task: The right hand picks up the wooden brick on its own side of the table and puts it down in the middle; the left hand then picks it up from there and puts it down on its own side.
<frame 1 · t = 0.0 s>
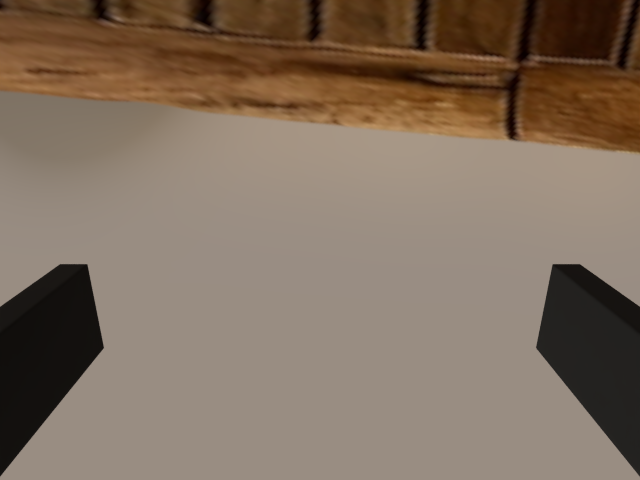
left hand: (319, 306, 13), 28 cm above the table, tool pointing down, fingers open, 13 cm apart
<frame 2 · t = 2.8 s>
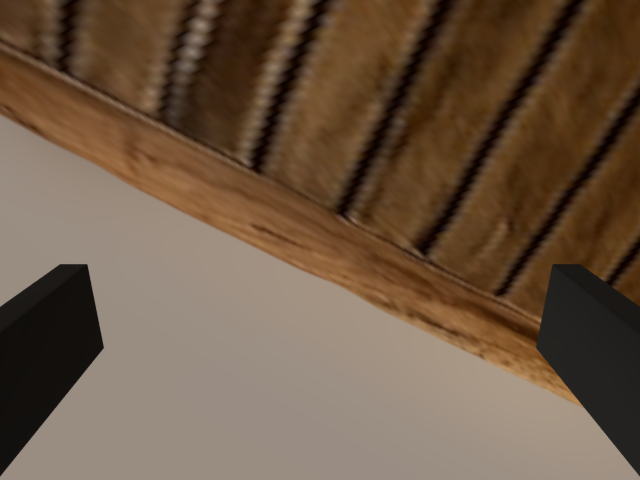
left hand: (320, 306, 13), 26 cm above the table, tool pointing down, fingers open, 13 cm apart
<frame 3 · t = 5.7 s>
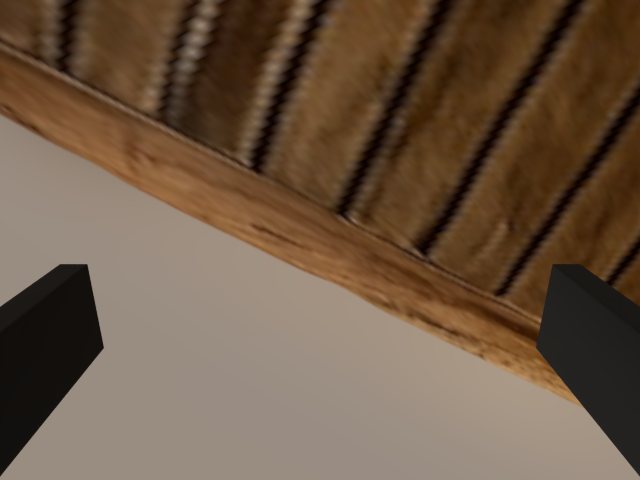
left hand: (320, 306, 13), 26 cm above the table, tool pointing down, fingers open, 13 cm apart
when the right hand's fingers open (4 cm above the table, at t = 8.4 s): brick drops 1 cm, on the table.
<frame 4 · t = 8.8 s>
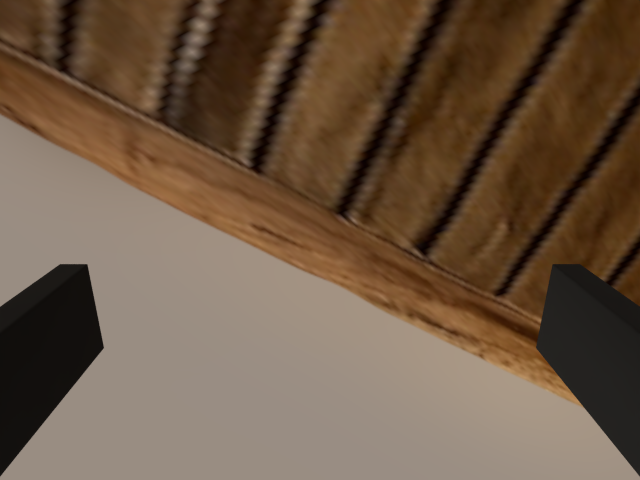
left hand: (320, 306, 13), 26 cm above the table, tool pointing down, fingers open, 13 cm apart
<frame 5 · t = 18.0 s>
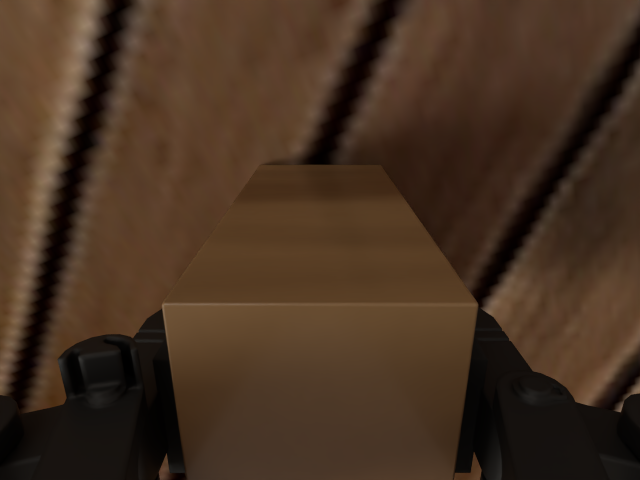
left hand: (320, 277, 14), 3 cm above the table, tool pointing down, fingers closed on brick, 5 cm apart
brick: (320, 241, 18), on the table, touching left hand
when the left hand's fingers open (4 cm above the table, at t = 25.5 s): brick drops 1 cm, on the table.
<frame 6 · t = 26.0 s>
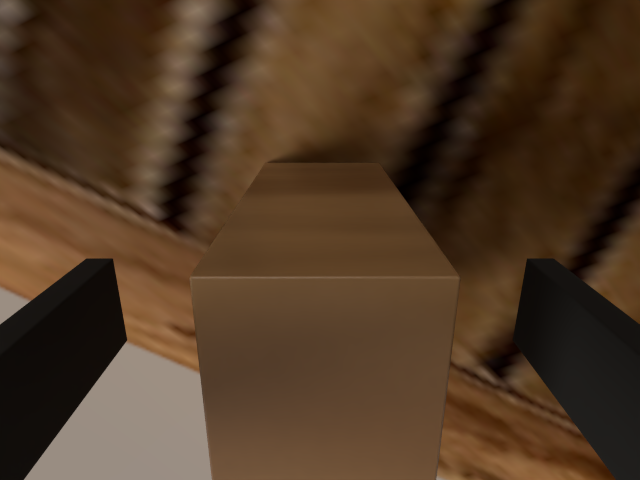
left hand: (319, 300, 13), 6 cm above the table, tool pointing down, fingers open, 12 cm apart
brick: (322, 234, 19), on the table
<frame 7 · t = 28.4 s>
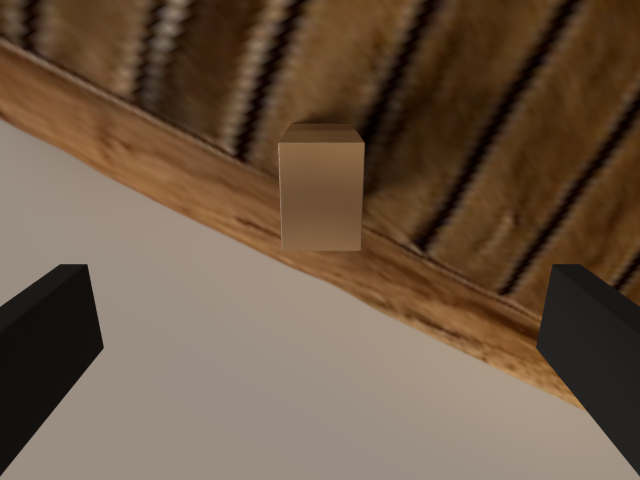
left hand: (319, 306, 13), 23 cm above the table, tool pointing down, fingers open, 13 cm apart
brick: (321, 163, 35), on the table
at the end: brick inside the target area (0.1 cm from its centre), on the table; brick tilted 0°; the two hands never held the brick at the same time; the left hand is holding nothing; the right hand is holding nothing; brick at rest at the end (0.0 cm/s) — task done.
